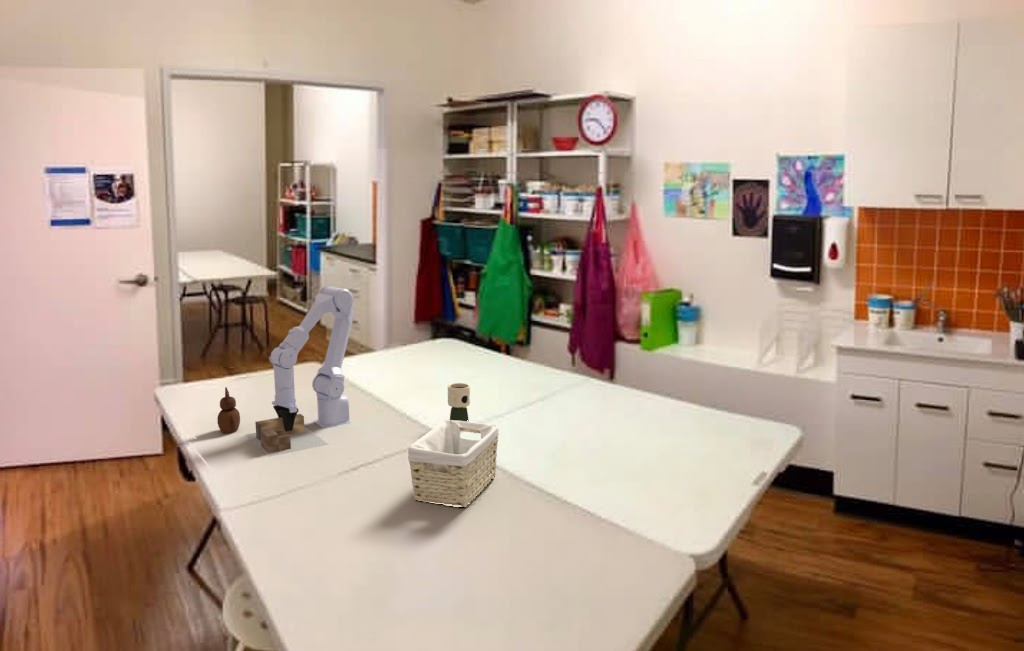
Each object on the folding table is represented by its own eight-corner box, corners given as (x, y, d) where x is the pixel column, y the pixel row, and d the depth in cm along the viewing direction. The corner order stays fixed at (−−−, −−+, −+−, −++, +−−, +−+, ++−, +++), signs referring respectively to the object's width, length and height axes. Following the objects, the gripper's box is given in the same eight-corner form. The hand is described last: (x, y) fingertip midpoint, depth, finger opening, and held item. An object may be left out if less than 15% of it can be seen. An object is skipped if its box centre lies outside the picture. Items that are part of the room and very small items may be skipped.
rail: (301, 429, 248) (300, 413, 247) (304, 431, 245) (303, 416, 244) (256, 437, 240) (255, 421, 239) (259, 440, 237) (258, 424, 236)
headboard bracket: (283, 441, 236) (282, 425, 235) (291, 448, 231) (290, 432, 230) (261, 445, 233) (260, 429, 232) (268, 453, 227) (267, 436, 226)
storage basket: (466, 513, 190) (465, 455, 187) (405, 503, 196) (404, 446, 193) (501, 477, 212) (501, 424, 209) (445, 468, 218) (445, 417, 215)
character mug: (461, 431, 248) (461, 391, 245) (441, 428, 250) (440, 388, 248) (476, 421, 258) (476, 382, 255) (456, 418, 260) (456, 380, 258)
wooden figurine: (232, 436, 242) (229, 389, 239) (215, 435, 243) (211, 388, 240) (244, 429, 248) (241, 383, 245) (227, 428, 249) (224, 382, 246)
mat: (302, 425, 252) (302, 424, 252) (328, 445, 235) (328, 444, 235) (245, 435, 242) (245, 434, 242) (268, 457, 225) (268, 456, 225)
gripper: (264, 382, 244) (266, 424, 247) (279, 394, 233) (281, 438, 235) (286, 379, 248) (288, 420, 251) (302, 390, 236) (304, 433, 239)
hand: (286, 429), depth 243 cm, fingers closed on rail, 3 cm apart
